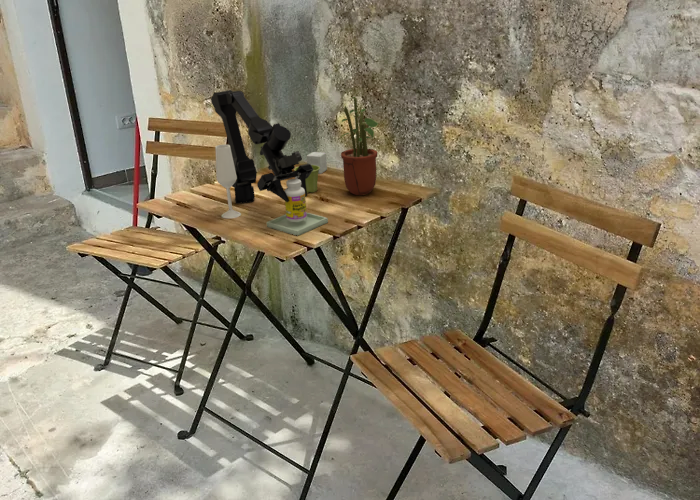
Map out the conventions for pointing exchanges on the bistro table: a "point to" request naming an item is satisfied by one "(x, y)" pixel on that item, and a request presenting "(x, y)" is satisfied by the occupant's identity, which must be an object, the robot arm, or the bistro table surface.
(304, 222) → the tray
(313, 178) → the plant pot
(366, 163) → the potted plant
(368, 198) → the bistro table surface
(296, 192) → the supplement bottle
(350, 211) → the bistro table surface
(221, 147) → the champagne flute
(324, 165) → the product box
